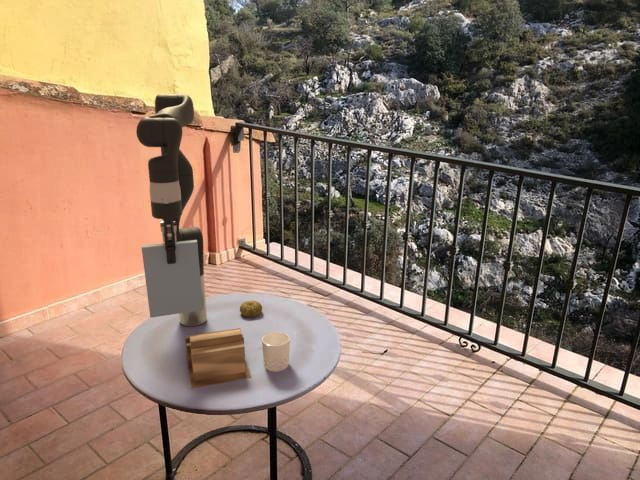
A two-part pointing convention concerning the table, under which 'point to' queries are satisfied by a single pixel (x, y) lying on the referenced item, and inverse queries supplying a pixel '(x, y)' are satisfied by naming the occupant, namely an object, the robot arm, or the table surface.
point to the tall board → (172, 279)
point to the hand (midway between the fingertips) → (171, 261)
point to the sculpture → (251, 304)
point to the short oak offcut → (218, 360)
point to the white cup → (276, 351)
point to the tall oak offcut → (215, 339)
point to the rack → (215, 379)
